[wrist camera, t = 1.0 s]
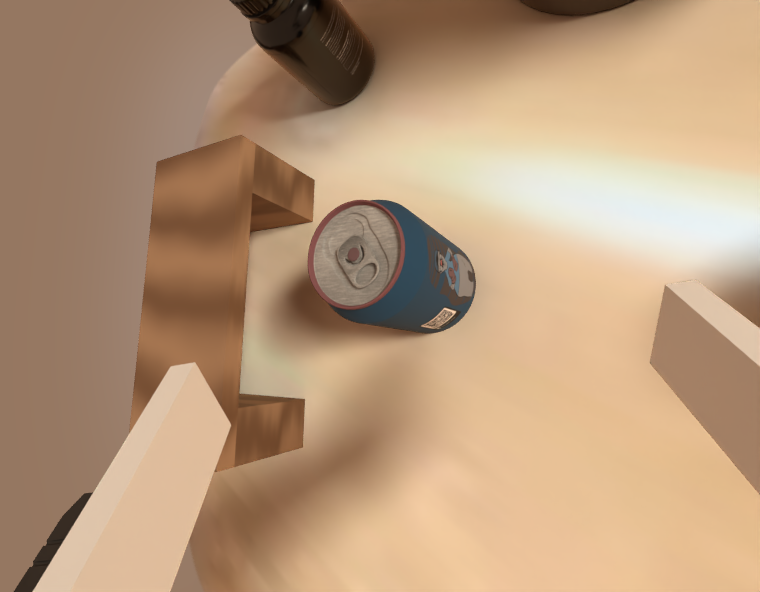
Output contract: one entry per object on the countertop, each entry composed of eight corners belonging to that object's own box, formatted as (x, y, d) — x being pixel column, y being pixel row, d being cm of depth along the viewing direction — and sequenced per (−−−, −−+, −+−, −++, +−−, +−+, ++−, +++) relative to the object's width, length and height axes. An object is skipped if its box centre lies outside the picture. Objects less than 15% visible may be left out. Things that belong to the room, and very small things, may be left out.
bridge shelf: (237, 197, 44) (156, 161, 36) (314, 180, 39) (241, 134, 31) (220, 434, 40) (127, 452, 32) (302, 447, 35) (216, 472, 28)
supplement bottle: (353, 24, 39) (262, -98, 29) (390, 64, 37) (304, -54, 26) (304, 80, 41) (202, -15, 31) (336, 122, 39) (236, 34, 28)
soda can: (380, 281, 34) (280, 246, 24) (446, 226, 32) (369, 161, 21) (424, 352, 31) (333, 348, 21) (500, 297, 29) (441, 262, 19)
